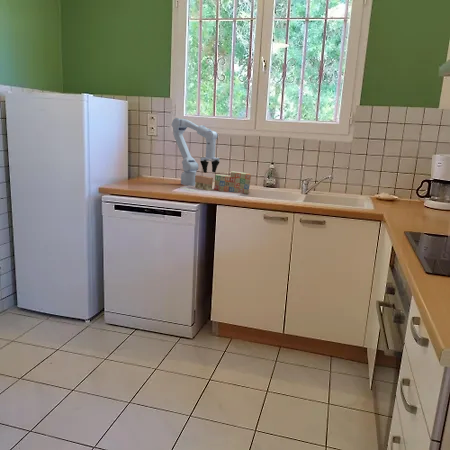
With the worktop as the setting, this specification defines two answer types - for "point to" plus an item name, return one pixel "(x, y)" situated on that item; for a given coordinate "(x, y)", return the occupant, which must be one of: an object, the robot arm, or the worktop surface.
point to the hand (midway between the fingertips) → (209, 172)
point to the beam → (203, 179)
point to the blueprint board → (191, 189)
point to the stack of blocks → (233, 182)
